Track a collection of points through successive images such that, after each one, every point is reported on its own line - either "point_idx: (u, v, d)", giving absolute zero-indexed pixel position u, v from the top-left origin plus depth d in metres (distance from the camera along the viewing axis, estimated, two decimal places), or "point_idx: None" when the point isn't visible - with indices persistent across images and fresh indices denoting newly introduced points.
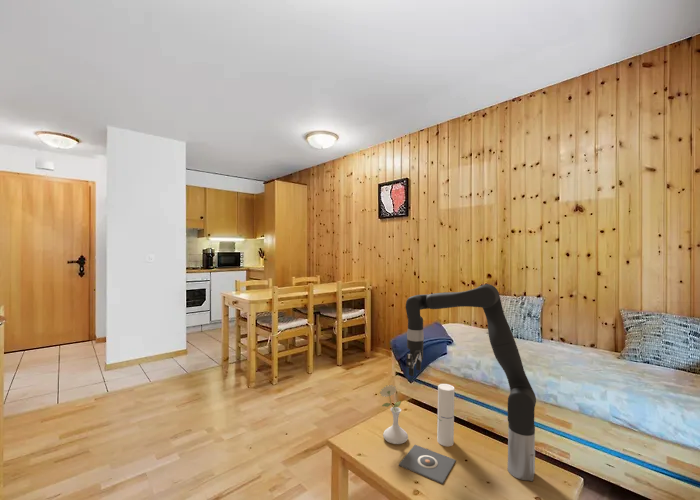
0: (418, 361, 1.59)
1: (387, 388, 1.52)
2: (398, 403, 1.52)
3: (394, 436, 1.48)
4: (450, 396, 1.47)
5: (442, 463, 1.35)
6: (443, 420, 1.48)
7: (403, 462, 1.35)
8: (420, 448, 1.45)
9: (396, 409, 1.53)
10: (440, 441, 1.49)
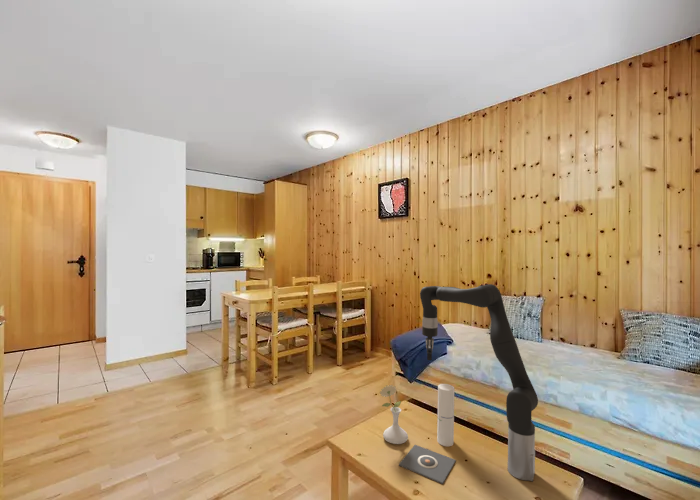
0: None
1: (387, 388, 1.52)
2: (398, 403, 1.52)
3: (394, 436, 1.48)
4: (450, 396, 1.47)
5: (442, 463, 1.35)
6: (443, 420, 1.48)
7: (403, 462, 1.35)
8: (420, 448, 1.45)
9: (396, 409, 1.53)
10: (440, 441, 1.49)
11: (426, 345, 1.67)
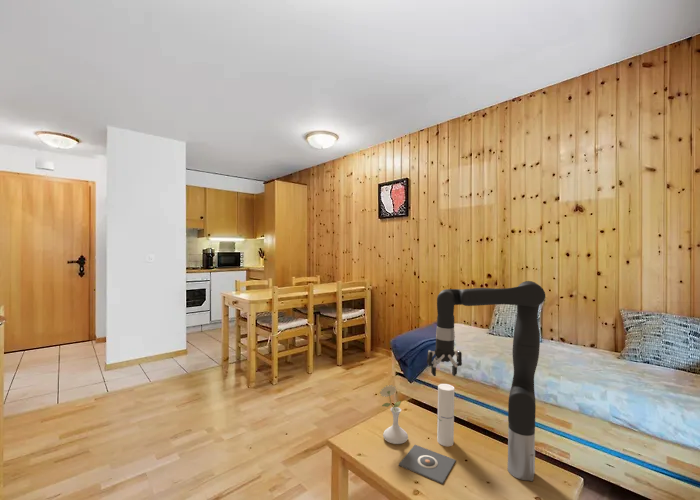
0: None
1: (387, 388, 1.52)
2: (398, 403, 1.52)
3: (394, 436, 1.48)
4: (450, 396, 1.47)
5: (442, 463, 1.35)
6: (443, 420, 1.48)
7: (403, 462, 1.35)
8: (420, 448, 1.45)
9: (396, 409, 1.53)
10: (440, 441, 1.49)
11: None
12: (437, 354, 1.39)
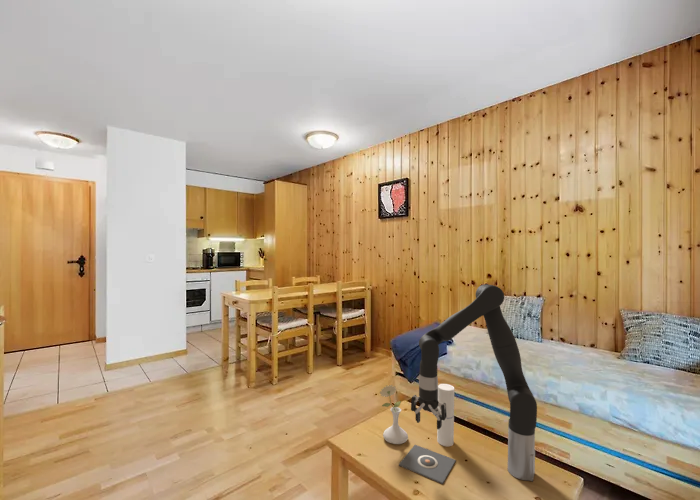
0: (418, 412, 1.38)
1: (387, 388, 1.52)
2: (398, 403, 1.52)
3: (394, 436, 1.48)
4: (450, 396, 1.47)
5: (442, 463, 1.35)
6: (443, 420, 1.48)
7: (403, 462, 1.35)
8: (420, 448, 1.45)
9: (396, 409, 1.53)
10: (440, 441, 1.49)
11: (434, 410, 1.32)
12: (419, 401, 1.36)
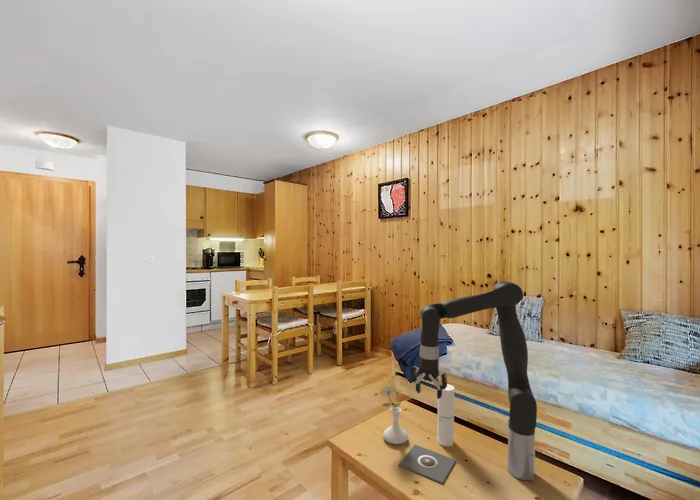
0: (419, 382, 1.37)
1: (387, 388, 1.52)
2: (398, 403, 1.52)
3: (394, 436, 1.48)
4: (450, 396, 1.47)
5: (442, 463, 1.35)
6: (443, 420, 1.48)
7: (403, 462, 1.35)
8: (420, 448, 1.45)
9: (396, 409, 1.53)
10: (440, 441, 1.49)
11: (435, 380, 1.32)
12: (419, 371, 1.36)
